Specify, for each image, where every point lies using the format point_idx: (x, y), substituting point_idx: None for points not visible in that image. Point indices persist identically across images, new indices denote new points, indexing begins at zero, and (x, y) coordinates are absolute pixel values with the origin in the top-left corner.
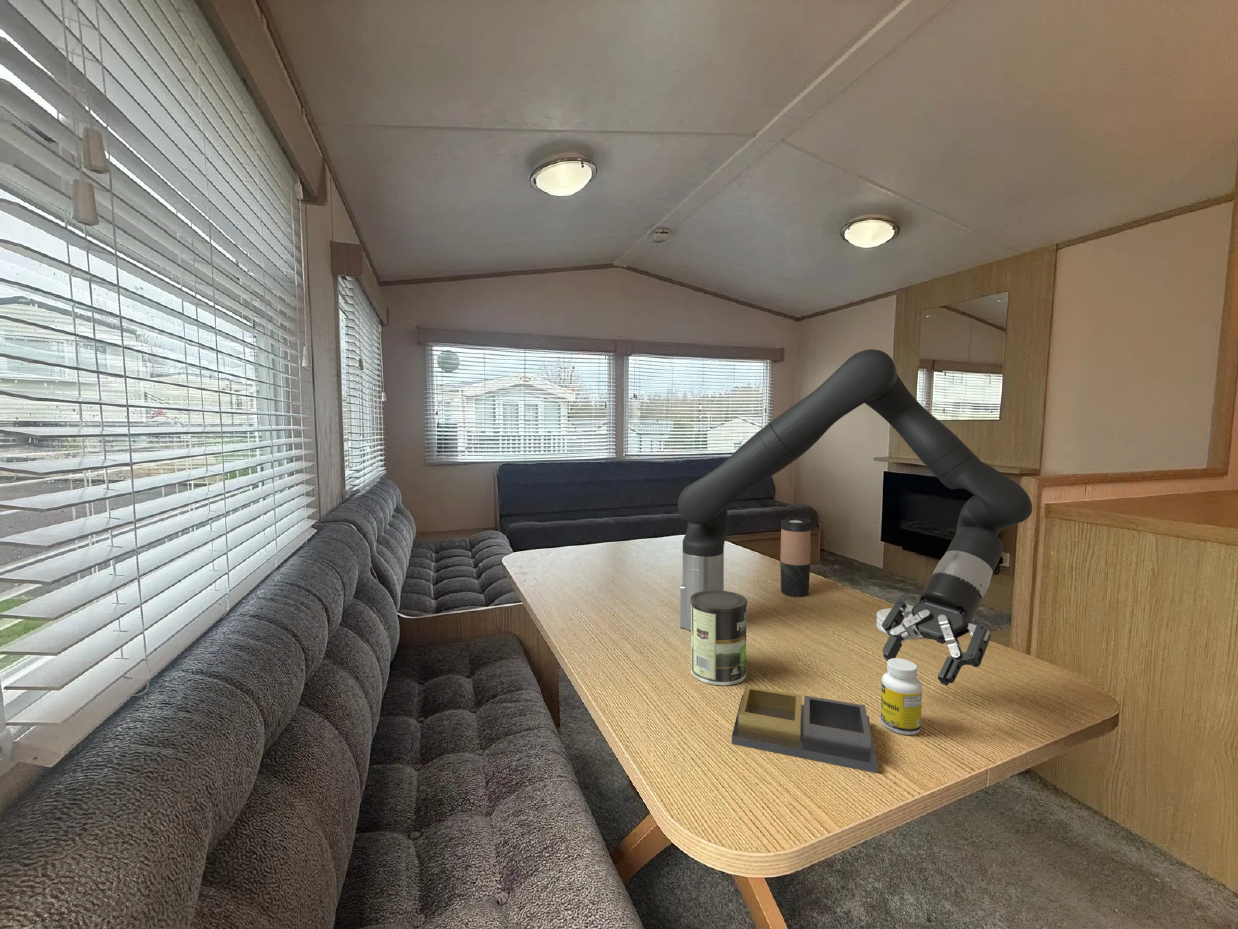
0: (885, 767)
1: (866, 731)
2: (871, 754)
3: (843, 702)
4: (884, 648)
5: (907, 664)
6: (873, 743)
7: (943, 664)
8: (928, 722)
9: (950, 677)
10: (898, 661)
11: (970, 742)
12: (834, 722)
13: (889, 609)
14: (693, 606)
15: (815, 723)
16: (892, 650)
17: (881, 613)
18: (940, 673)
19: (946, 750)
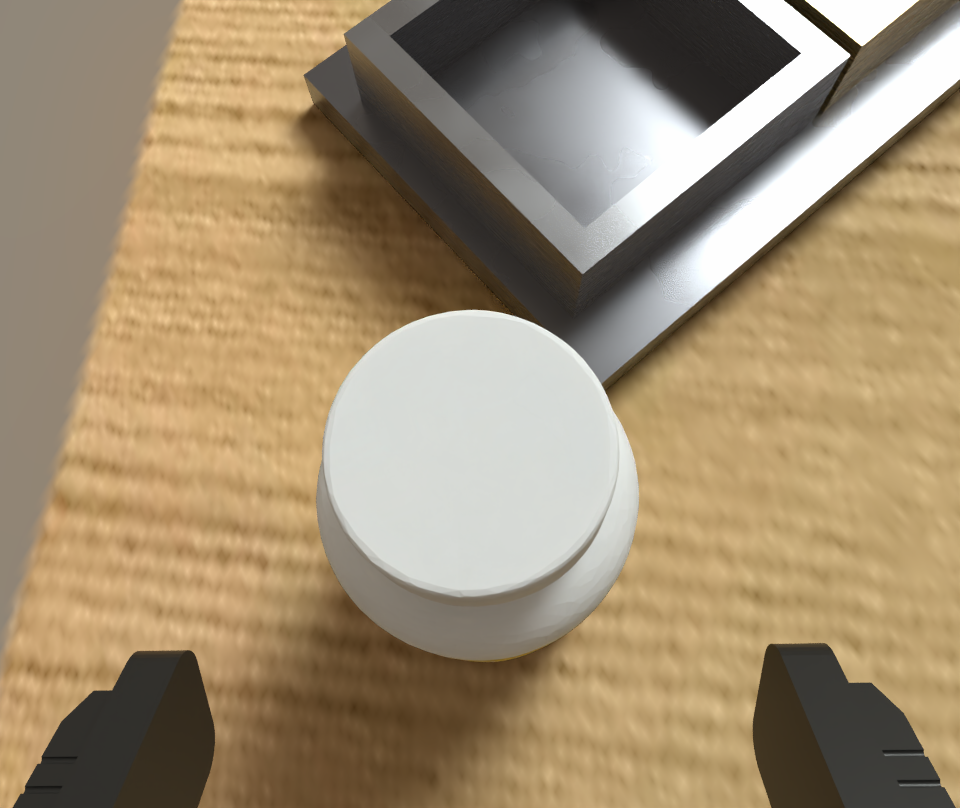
0: (317, 164)
1: (392, 57)
2: (363, 109)
3: (672, 185)
4: (893, 725)
5: (433, 491)
6: (412, 187)
7: (123, 774)
8: (418, 748)
9: (71, 716)
10: (527, 465)
11: None
12: (645, 167)
13: None
14: None
15: (685, 81)
16: (803, 758)
17: None
18: (159, 681)
19: (212, 544)
